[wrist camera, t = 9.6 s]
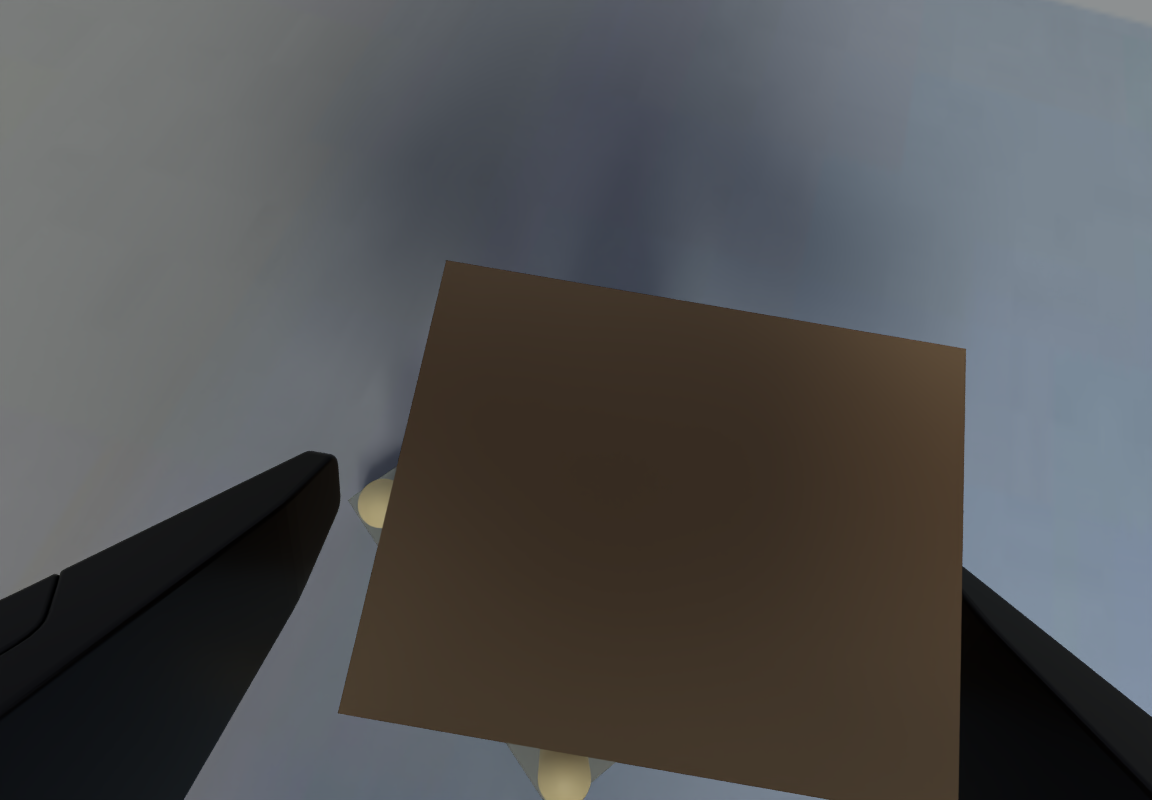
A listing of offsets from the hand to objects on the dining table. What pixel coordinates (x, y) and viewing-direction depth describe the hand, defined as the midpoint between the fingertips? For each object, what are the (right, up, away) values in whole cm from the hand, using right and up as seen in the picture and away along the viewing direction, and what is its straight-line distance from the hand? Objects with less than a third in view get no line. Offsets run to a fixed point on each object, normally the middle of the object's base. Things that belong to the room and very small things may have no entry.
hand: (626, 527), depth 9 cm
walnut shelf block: (0, -2, +8) cm, 8 cm away
